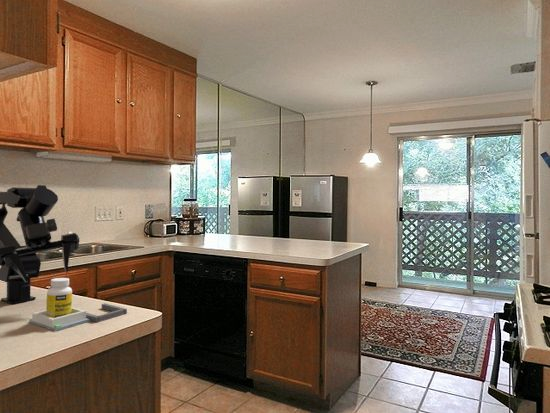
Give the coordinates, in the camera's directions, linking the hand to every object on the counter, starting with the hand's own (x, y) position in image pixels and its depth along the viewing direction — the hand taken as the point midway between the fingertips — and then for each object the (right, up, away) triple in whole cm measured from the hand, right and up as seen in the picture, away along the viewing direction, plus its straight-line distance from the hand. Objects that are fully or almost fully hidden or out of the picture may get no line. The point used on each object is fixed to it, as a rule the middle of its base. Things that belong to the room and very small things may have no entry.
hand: (47, 276), depth 101 cm
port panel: (+6, -10, -6) cm, 13 cm away
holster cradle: (+14, -10, +1) cm, 17 cm away
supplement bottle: (+6, -10, -6) cm, 13 cm away
